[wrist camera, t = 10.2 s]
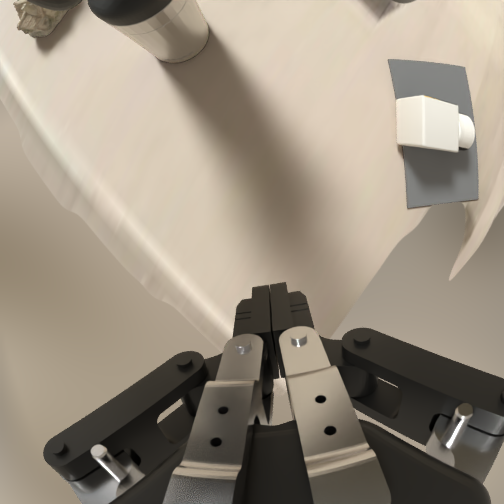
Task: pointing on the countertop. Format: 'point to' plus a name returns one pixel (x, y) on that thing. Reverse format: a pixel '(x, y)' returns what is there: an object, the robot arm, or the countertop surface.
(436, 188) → the rubber mat
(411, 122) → the medicine bottle
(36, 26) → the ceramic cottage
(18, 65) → the countertop surface
